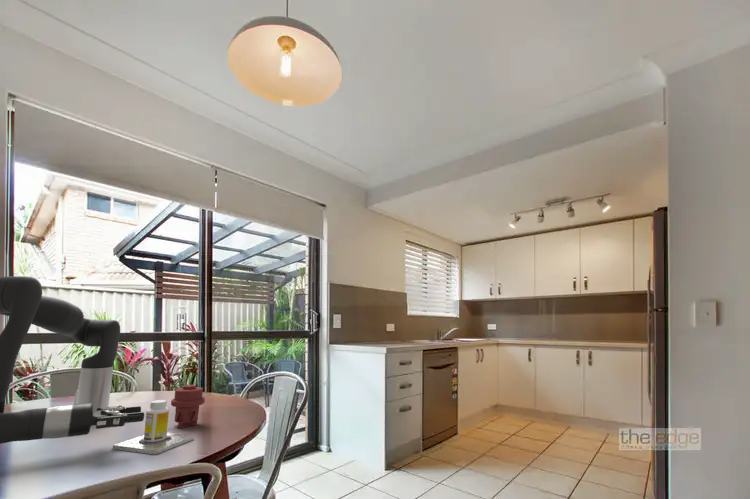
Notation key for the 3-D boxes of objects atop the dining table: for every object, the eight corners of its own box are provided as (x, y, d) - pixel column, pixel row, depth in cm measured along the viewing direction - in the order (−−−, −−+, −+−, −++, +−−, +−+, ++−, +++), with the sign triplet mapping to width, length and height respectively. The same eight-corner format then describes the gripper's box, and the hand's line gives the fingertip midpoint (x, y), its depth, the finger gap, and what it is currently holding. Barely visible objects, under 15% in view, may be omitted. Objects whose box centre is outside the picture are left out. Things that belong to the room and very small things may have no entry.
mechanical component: (208, 422, 134) (189, 430, 124) (182, 420, 136) (161, 428, 126) (212, 384, 136) (193, 388, 126) (186, 382, 138) (165, 387, 128)
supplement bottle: (169, 436, 113) (172, 399, 115) (162, 442, 108) (166, 403, 110) (147, 437, 112) (151, 399, 114) (140, 443, 107) (144, 403, 109)
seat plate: (112, 449, 105) (112, 444, 106) (154, 434, 119) (154, 431, 119) (155, 454, 102) (156, 450, 102) (193, 439, 115) (194, 435, 115)
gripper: (69, 410, 95) (146, 403, 104) (71, 400, 107) (141, 394, 116) (64, 444, 94) (143, 434, 103) (67, 430, 105) (138, 422, 115)
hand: (142, 413), depth 109 cm, fingers open, 8 cm apart
